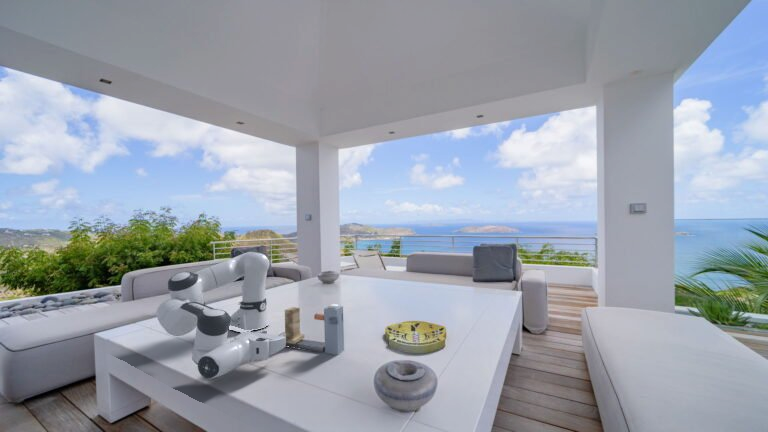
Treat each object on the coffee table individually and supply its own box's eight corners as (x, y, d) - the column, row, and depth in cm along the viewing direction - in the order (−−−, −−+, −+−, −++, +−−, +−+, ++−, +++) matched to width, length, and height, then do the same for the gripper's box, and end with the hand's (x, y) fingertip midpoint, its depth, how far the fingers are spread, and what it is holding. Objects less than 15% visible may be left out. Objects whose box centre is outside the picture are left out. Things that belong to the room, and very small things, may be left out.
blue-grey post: (325, 353, 119) (323, 306, 119) (331, 348, 124) (330, 303, 124) (337, 355, 117) (336, 307, 117) (344, 349, 121) (342, 304, 122)
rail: (276, 345, 128) (275, 336, 128) (283, 341, 133) (283, 332, 133) (322, 352, 119) (322, 342, 119) (329, 347, 124) (329, 338, 124)
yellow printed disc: (380, 345, 118) (387, 320, 148) (381, 353, 118) (387, 327, 148) (451, 346, 115) (443, 321, 145) (451, 354, 115) (443, 327, 145)
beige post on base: (280, 342, 126) (280, 310, 126) (291, 336, 132) (290, 306, 133) (294, 344, 123) (293, 311, 124) (304, 337, 130) (303, 307, 130)
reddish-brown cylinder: (314, 320, 123) (314, 314, 123) (317, 318, 125) (317, 312, 125) (325, 321, 121) (325, 315, 121) (328, 319, 123) (328, 313, 123)
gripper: (226, 352, 109) (255, 338, 121) (269, 360, 101) (295, 344, 114) (225, 335, 109) (254, 323, 122) (269, 341, 101) (295, 328, 114)
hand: (274, 333), depth 118 cm, fingers open, 8 cm apart
